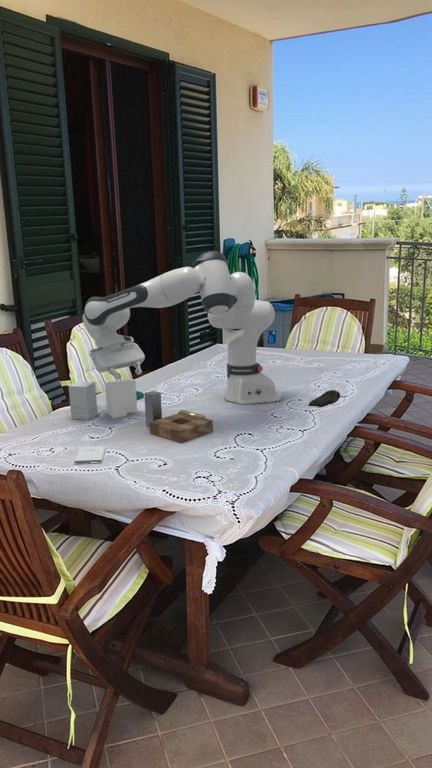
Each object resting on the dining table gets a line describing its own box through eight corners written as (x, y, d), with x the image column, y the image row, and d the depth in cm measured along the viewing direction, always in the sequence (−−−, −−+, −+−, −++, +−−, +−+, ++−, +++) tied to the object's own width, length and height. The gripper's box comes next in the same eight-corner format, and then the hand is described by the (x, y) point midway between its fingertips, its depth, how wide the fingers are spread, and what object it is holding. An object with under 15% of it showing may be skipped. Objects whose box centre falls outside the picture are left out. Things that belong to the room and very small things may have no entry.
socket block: (182, 423, 232) (181, 412, 231) (212, 431, 222) (212, 420, 221) (150, 433, 221) (149, 422, 220) (180, 442, 211) (180, 431, 210)
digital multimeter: (145, 398, 267) (144, 391, 267) (124, 407, 255) (123, 400, 254) (130, 396, 271) (129, 389, 270) (108, 405, 258) (108, 398, 257)
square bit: (154, 423, 232) (153, 390, 229) (162, 425, 229) (160, 392, 227) (146, 426, 229) (144, 393, 226) (153, 428, 227) (152, 394, 224)
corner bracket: (113, 418, 240) (110, 386, 237) (103, 410, 250) (101, 380, 247) (140, 413, 244) (138, 382, 242) (129, 406, 254) (128, 376, 251)
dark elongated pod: (325, 410, 245) (325, 402, 244) (306, 407, 249) (307, 399, 248) (347, 396, 263) (348, 389, 262) (330, 394, 267) (330, 386, 266)
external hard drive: (74, 466, 195) (80, 451, 207) (102, 464, 196) (106, 450, 208) (74, 460, 195) (79, 446, 207) (101, 459, 195) (105, 445, 207)
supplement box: (98, 414, 244) (96, 381, 241) (88, 420, 238) (85, 386, 235) (81, 413, 247) (78, 380, 244) (70, 419, 240) (67, 385, 237)
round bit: (182, 422, 236) (175, 417, 233) (187, 412, 237) (180, 407, 234) (202, 428, 229) (195, 423, 226) (207, 418, 230) (200, 412, 227)
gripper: (90, 344, 228) (109, 376, 224) (135, 336, 243) (154, 365, 239) (83, 355, 232) (102, 386, 228) (128, 346, 247) (147, 375, 243)
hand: (129, 375), depth 234 cm, fingers open, 8 cm apart
